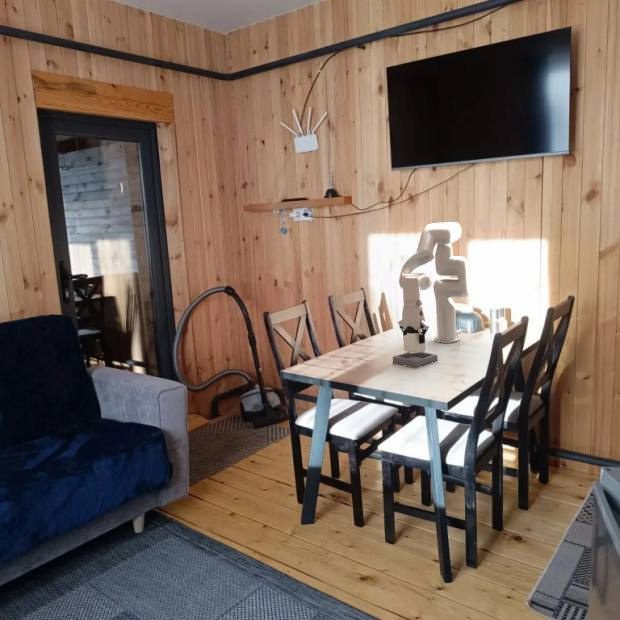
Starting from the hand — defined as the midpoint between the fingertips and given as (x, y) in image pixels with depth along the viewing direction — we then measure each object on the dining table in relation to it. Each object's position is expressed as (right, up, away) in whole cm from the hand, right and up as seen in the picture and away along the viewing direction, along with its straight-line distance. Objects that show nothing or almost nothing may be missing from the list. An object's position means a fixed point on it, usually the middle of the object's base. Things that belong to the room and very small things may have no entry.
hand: (414, 341), depth 260 cm
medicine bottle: (0, -4, +1) cm, 4 cm away
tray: (+1, -9, +2) cm, 9 cm away
